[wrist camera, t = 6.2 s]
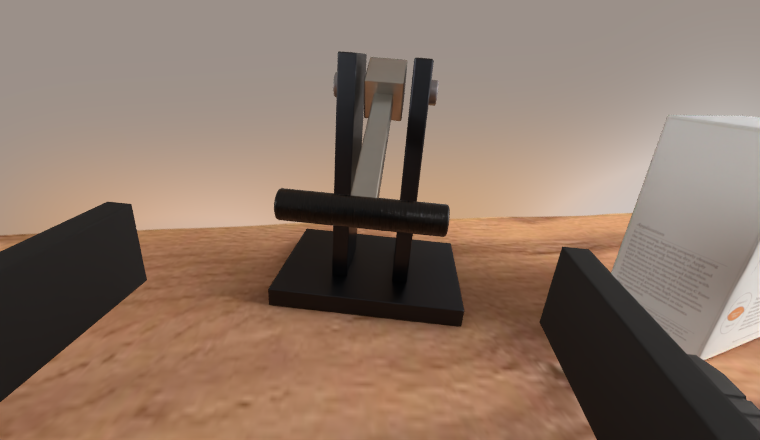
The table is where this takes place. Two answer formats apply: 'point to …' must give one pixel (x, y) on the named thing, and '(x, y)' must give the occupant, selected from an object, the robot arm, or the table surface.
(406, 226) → the latch lever
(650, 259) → the small box
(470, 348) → the table surface
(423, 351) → the table surface
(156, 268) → the table surface
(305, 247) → the black lever stand
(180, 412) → the table surface
